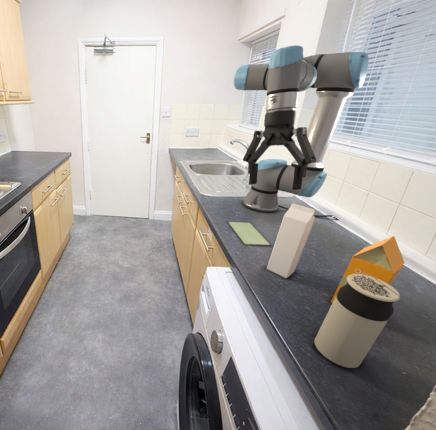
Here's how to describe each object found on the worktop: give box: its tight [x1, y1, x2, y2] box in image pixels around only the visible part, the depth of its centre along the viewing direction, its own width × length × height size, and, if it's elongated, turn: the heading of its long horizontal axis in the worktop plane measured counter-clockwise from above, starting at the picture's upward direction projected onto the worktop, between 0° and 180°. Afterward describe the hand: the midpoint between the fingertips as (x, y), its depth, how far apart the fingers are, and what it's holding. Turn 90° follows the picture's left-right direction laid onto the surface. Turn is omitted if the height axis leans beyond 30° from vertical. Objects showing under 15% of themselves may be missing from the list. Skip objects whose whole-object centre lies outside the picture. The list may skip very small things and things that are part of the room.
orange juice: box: [330, 235, 405, 304], centre depth 66 cm, size 8×9×20 cm
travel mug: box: [313, 274, 401, 369], centre depth 53 cm, size 8×8×18 cm
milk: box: [266, 202, 316, 279], centre depth 78 cm, size 6×6×22 cm
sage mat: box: [228, 221, 271, 247], centre depth 105 cm, size 9×18×1 cm, turn 177°
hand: (273, 186), depth 79 cm, fingers open, 13 cm apart
